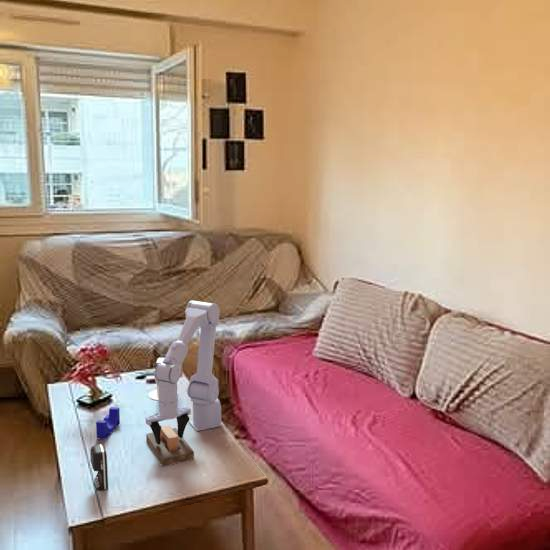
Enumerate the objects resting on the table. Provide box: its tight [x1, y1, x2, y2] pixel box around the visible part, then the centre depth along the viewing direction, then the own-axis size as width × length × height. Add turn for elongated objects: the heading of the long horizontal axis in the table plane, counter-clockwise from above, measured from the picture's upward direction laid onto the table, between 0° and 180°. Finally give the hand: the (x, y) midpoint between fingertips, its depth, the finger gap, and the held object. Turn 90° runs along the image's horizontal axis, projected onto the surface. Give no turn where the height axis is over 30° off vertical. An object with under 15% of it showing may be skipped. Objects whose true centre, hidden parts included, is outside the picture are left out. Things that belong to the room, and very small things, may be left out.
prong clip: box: [160, 424, 178, 452], centre depth 189 cm, size 3×9×6 cm, turn 28°
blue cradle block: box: [95, 406, 121, 440], centre depth 201 cm, size 12×4×6 cm, turn 172°
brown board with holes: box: [145, 427, 195, 467], centre depth 189 cm, size 10×18×2 cm, turn 27°
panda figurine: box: [148, 353, 179, 402], centre depth 230 cm, size 12×11×15 cm
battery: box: [89, 443, 109, 491], centre depth 168 cm, size 7×4×11 cm, turn 25°
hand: (169, 439), depth 189 cm, fingers open, 7 cm apart
